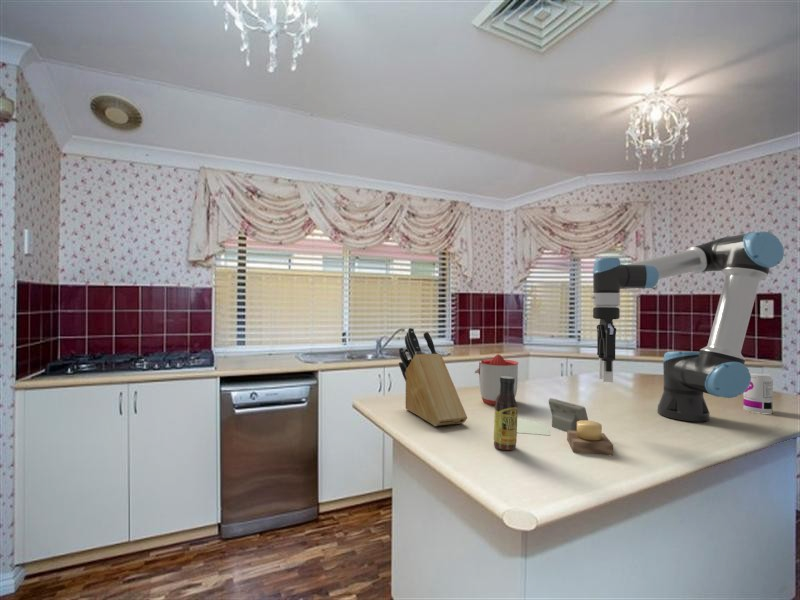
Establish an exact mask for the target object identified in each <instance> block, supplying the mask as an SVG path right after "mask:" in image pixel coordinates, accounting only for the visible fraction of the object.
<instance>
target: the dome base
mask: <svg viewBox="0 0 800 600" xmlns="http://www.w3.org/2000/svg"><path fill="white" fill-rule="evenodd" d="M566 441H567V442H568V445H569V447H570V449H571V451H572V452H573V453H574V454H575V453H577V454H586V455H587V454H590V455H599V456H609V455H611V456H612V457H613V456H614V444H613V442H612V441H611V440H610V439H609V438H608V437H607V435H606V434H605V433H604V432H602V439H600V440H583V438H580V437H578V436H577V431H571V430H567V432H566Z"/></svg>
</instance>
